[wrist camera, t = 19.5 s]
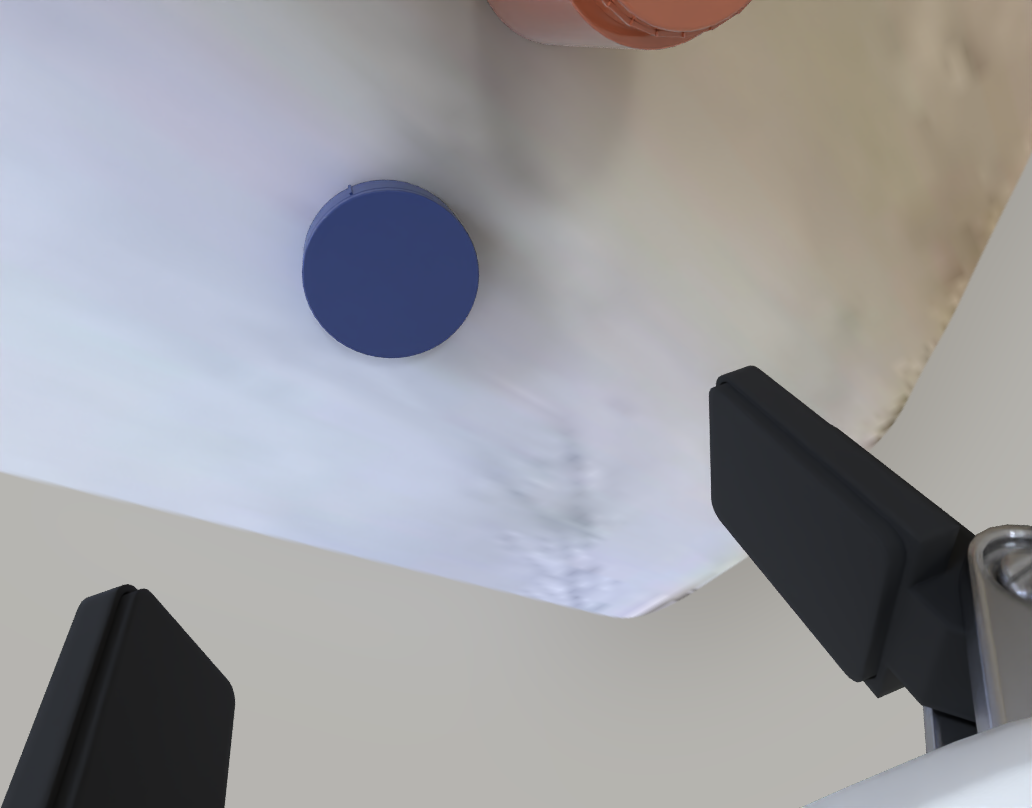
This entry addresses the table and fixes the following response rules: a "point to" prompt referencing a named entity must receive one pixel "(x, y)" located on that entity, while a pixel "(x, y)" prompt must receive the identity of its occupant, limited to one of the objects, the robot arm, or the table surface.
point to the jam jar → (615, 21)
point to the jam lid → (389, 269)
